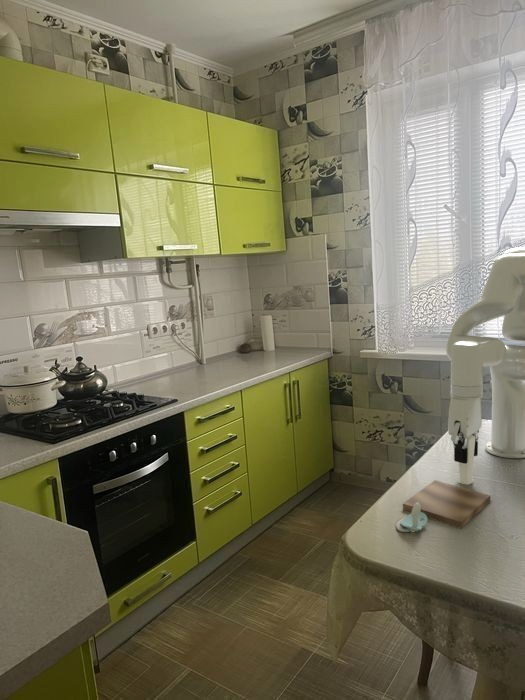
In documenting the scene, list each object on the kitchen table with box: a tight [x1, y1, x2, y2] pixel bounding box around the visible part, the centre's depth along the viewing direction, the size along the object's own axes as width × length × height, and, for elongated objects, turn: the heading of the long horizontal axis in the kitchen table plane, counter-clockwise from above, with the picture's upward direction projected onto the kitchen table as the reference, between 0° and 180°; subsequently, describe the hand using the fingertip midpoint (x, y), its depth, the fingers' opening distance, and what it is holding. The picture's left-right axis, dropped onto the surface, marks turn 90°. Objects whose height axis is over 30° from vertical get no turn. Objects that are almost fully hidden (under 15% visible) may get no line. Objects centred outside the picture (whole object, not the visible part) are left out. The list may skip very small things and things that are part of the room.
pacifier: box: [395, 502, 428, 533], centre depth 113 cm, size 7×6×6 cm
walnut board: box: [402, 479, 492, 529], centre depth 121 cm, size 16×14×2 cm
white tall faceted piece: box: [457, 433, 475, 486], centre depth 132 cm, size 5×4×15 cm
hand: (466, 457), depth 132 cm, fingers open, 5 cm apart
